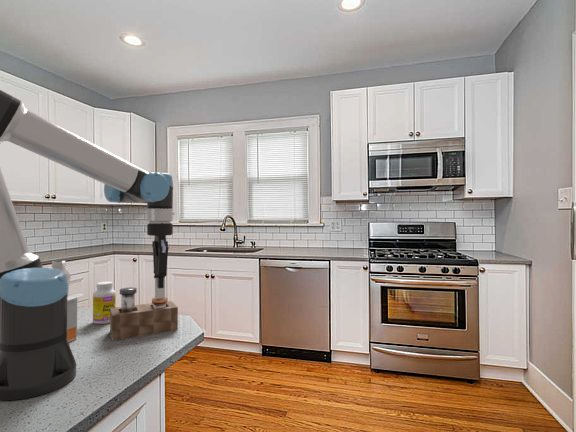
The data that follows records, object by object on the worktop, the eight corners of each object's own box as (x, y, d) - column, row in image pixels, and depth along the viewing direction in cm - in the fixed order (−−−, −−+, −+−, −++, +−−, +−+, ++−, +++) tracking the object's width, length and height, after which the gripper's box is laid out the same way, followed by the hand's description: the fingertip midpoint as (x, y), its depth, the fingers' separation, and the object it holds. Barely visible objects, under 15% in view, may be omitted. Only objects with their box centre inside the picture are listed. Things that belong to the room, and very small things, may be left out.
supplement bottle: (101, 325, 110) (101, 285, 110) (88, 322, 113) (88, 283, 113) (120, 320, 116) (120, 281, 116) (106, 317, 119) (106, 280, 119)
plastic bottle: (41, 323, 112) (42, 261, 112) (63, 317, 118) (63, 259, 118) (53, 326, 109) (53, 263, 109) (74, 320, 115) (74, 260, 115)
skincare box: (59, 347, 92) (59, 302, 92) (46, 345, 93) (46, 301, 93) (77, 339, 98) (78, 297, 98) (65, 337, 99) (65, 296, 99)
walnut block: (171, 321, 114) (171, 300, 114) (177, 329, 106) (177, 307, 106) (110, 331, 105) (110, 308, 105) (112, 340, 97) (112, 315, 97)
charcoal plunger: (137, 318, 102) (137, 289, 102) (120, 321, 100) (120, 291, 100) (135, 314, 106) (135, 286, 106) (118, 317, 104) (119, 288, 104)
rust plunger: (168, 327, 107) (168, 299, 107) (153, 329, 105) (153, 301, 105) (165, 323, 111) (165, 296, 111) (150, 325, 109) (150, 297, 109)
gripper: (177, 223, 104) (177, 300, 104) (168, 222, 115) (167, 292, 115) (150, 223, 100) (150, 304, 100) (144, 222, 111) (143, 295, 112)
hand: (159, 297), depth 108 cm, fingers closed
